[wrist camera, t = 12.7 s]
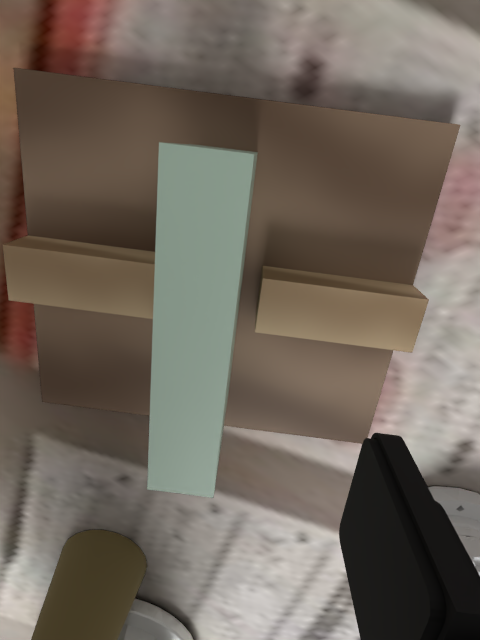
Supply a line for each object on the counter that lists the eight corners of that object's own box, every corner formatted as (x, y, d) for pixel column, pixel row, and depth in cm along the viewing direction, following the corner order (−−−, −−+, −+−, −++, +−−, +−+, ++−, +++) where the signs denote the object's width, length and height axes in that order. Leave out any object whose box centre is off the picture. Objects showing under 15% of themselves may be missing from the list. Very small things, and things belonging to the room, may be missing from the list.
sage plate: (228, 394, 22) (213, 497, 15) (181, 388, 22) (147, 489, 15) (257, 152, 17) (254, 154, 11) (198, 144, 17) (158, 142, 11)
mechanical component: (506, 469, 24) (338, 495, 26) (555, 534, 20) (353, 561, 22) (510, 581, 28) (362, 598, 29) (552, 655, 24) (378, 671, 25)
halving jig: (361, 432, 23) (374, 470, 21) (50, 391, 23) (22, 424, 21) (449, 126, 17) (485, 121, 14) (26, 72, 17) (-19, 57, 14)
